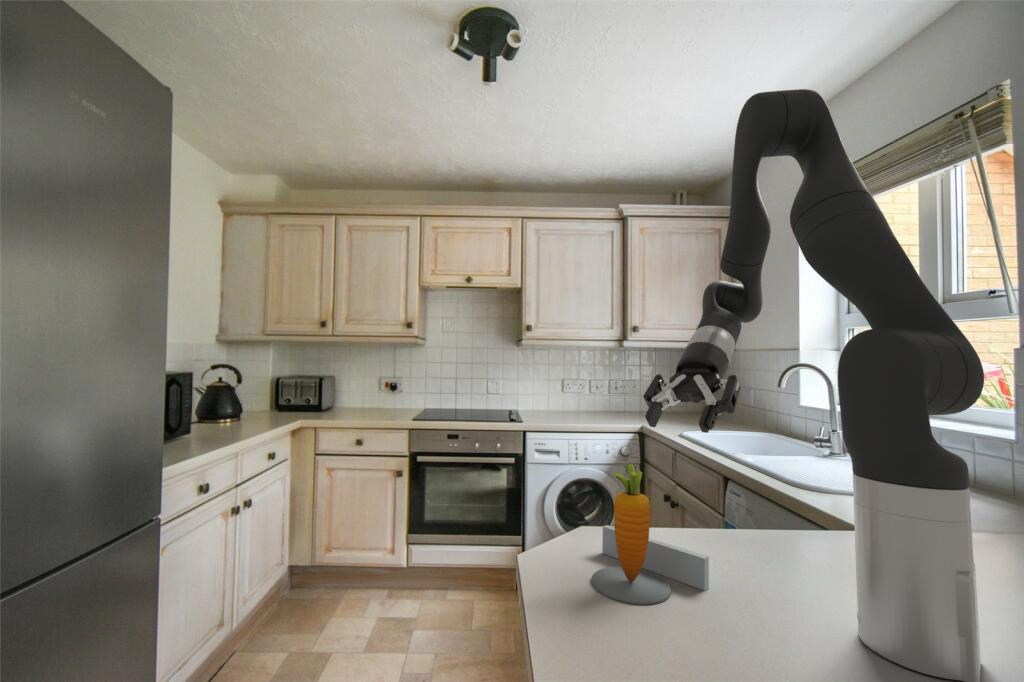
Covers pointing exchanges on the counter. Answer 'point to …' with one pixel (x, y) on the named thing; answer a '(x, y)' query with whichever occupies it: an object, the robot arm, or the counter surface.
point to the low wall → (667, 560)
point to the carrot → (631, 524)
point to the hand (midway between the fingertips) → (675, 426)
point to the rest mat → (631, 586)
